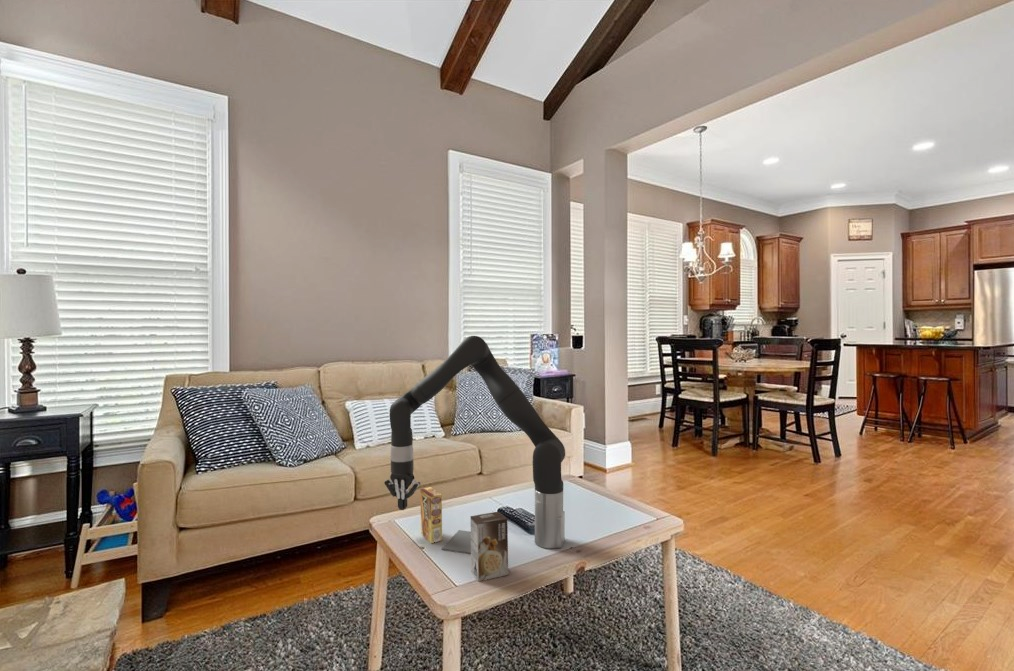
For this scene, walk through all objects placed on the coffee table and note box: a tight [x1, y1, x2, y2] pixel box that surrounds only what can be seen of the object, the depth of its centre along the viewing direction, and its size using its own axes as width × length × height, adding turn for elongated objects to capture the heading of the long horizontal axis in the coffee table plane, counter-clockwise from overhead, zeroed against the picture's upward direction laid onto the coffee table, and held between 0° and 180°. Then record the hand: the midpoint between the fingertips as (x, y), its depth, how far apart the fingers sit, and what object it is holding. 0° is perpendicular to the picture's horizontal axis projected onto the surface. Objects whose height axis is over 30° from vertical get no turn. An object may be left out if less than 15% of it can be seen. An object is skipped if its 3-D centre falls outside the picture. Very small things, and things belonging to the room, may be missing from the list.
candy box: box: [419, 486, 443, 544], centre depth 158 cm, size 9×4×15 cm, turn 33°
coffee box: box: [470, 511, 509, 582], centre depth 135 cm, size 9×6×16 cm
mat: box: [440, 529, 471, 555], centre depth 154 cm, size 15×14×1 cm
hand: (402, 509), depth 161 cm, fingers closed
